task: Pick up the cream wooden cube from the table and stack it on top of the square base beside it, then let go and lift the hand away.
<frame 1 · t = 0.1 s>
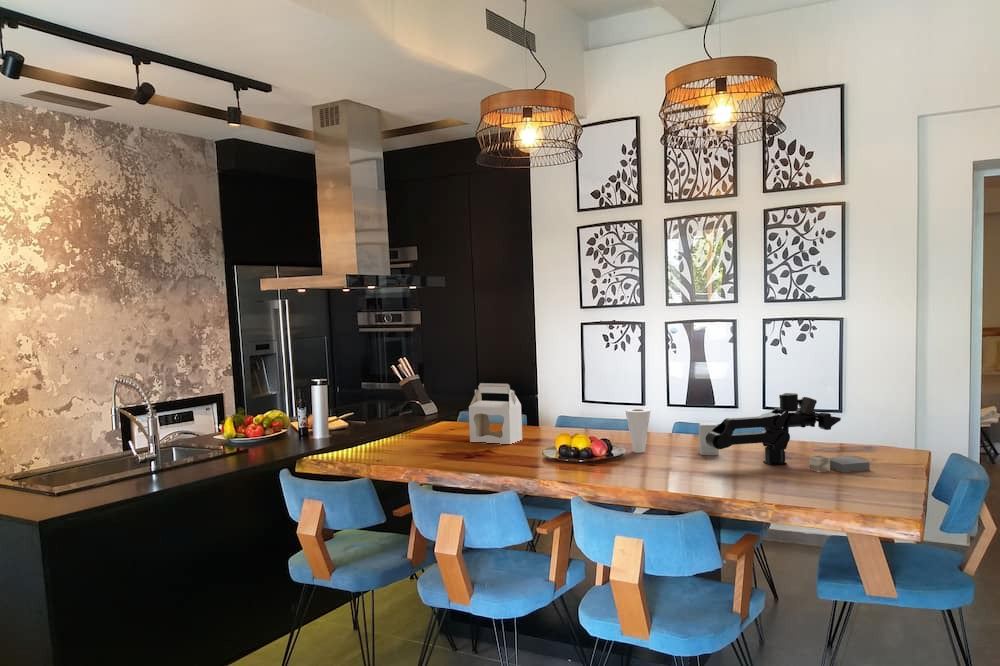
hand: (832, 417, 278), 17 cm above the table, tool horizontal, fingers open, 9 cm apart
base: (846, 468, 263), on the table
cube: (819, 470, 261), on the table
cup: (639, 452, 304), on the table
gable box: (496, 441, 339), on the table
supplement box: (709, 453, 296), on the table
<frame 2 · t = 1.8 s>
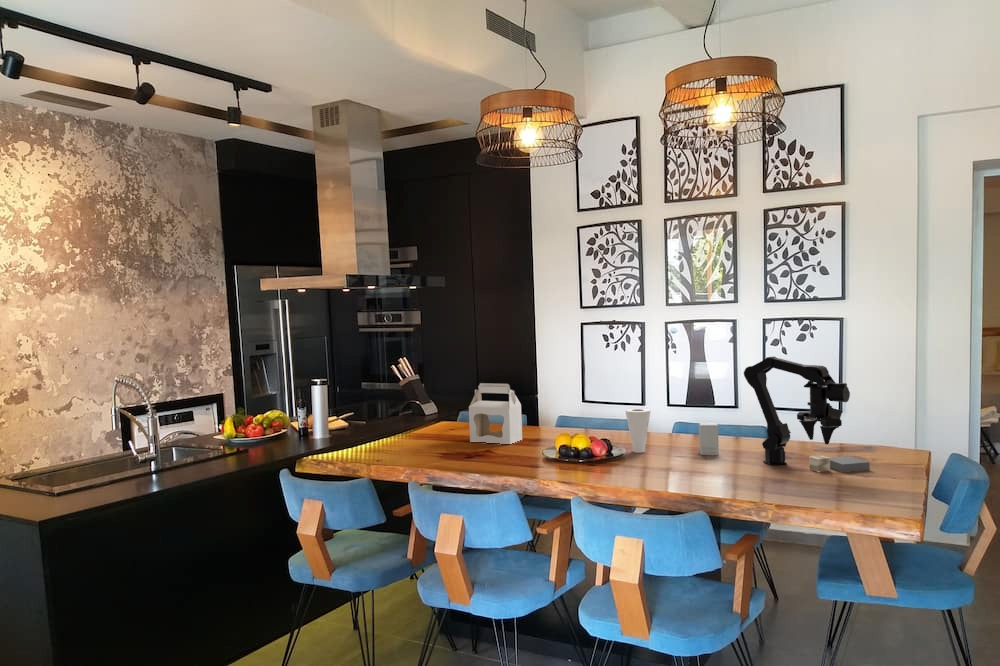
hand: (819, 441, 261), 11 cm above the table, tool pointing down, fingers open, 9 cm apart
nothing on the table moved.
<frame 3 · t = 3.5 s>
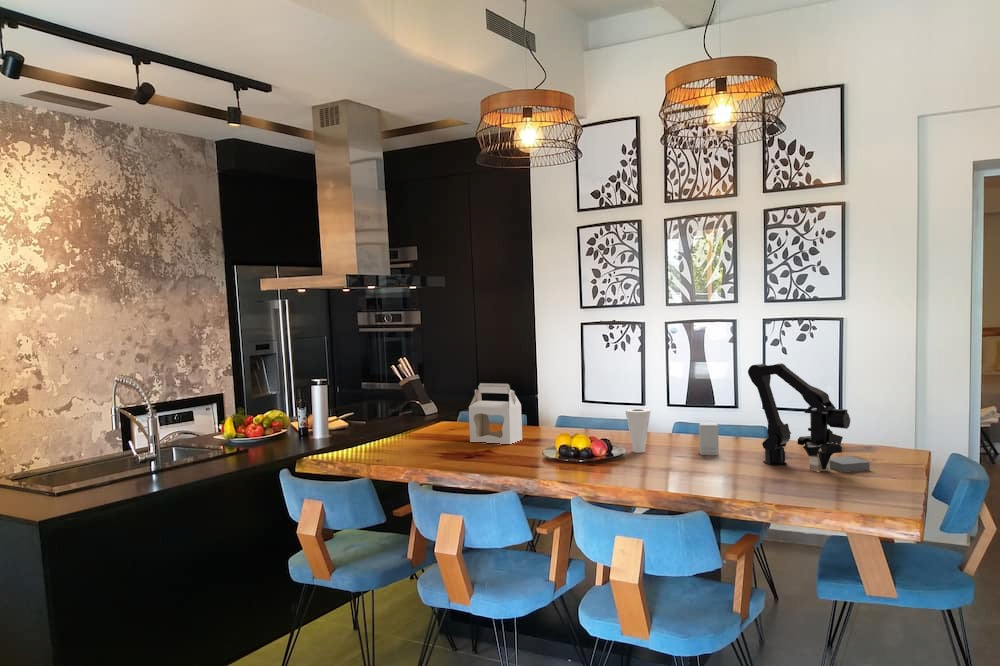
hand: (819, 467, 261), 1 cm above the table, tool pointing down, fingers closed on cube, 5 cm apart
cube: (819, 470, 261), on the table, touching gripper
everything else where it was.
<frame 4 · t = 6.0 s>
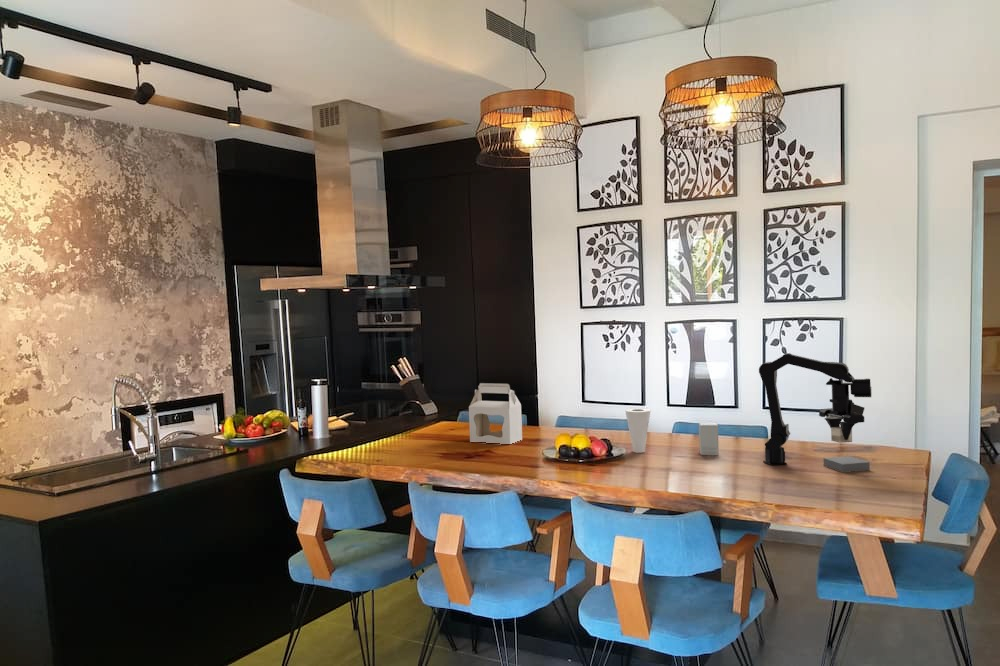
hand: (841, 438, 262), 11 cm above the table, tool pointing down, fingers closed on cube, 5 cm apart
cube: (841, 441, 262), point 10 cm above the table, touching gripper
everything else where it was.
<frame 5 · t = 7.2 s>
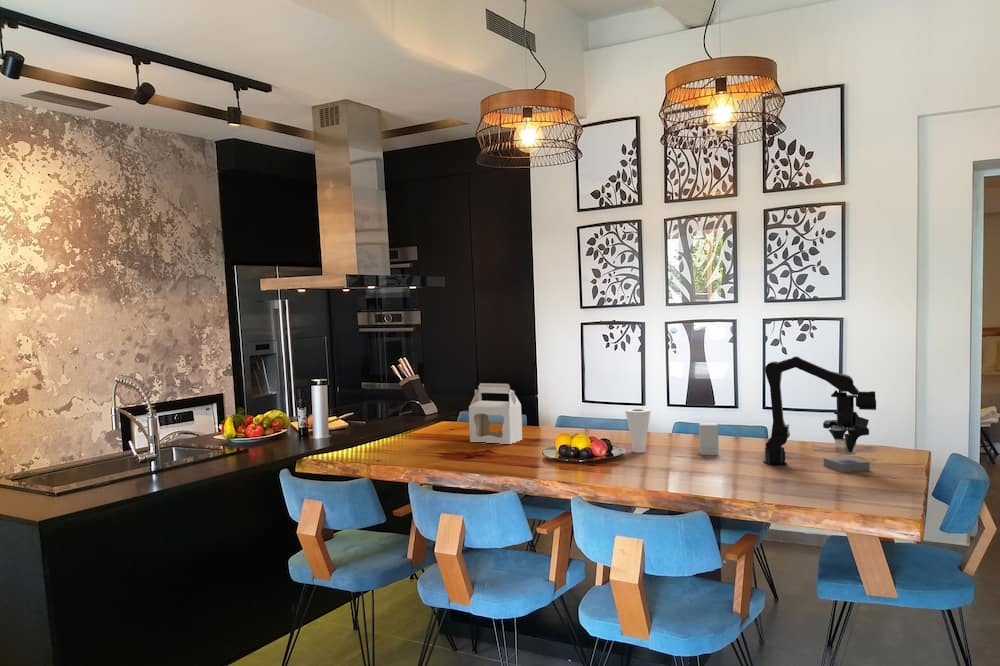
hand: (845, 450, 263), 7 cm above the table, tool pointing down, fingers closed on cube, 5 cm apart
cube: (845, 453, 263), point 6 cm above the table, touching gripper
everything else where it was.
when the fingers open (5 cm above the table, at t = 8.3 s): cube drops 1 cm, resting on base.
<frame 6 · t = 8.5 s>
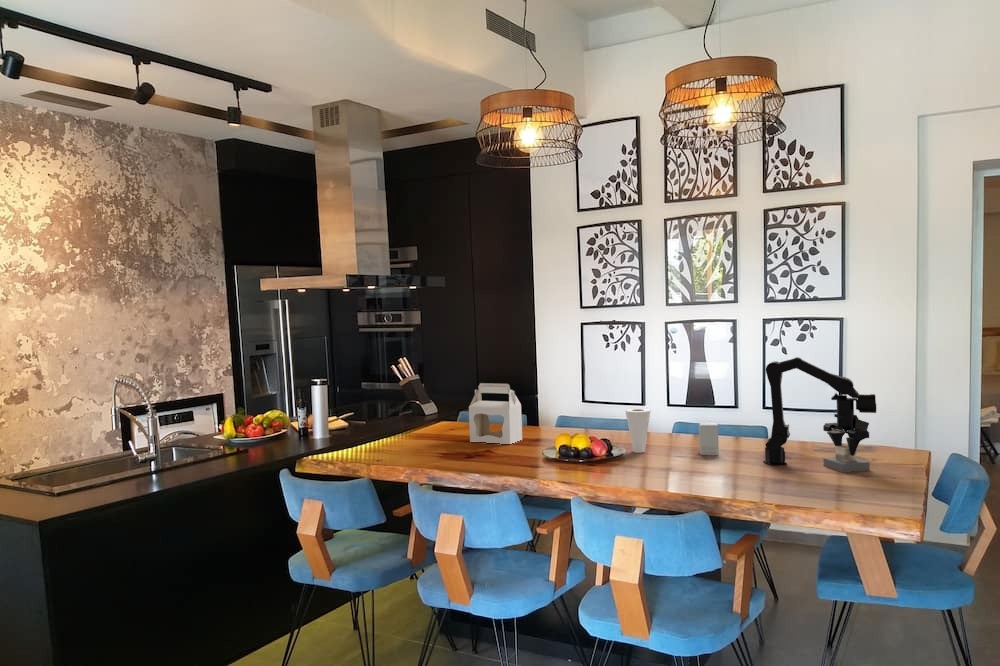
hand: (845, 453, 263), 5 cm above the table, tool pointing down, fingers open, 7 cm apart
cube: (846, 460, 263), point 3 cm above the table, touching base
everything else where it was.
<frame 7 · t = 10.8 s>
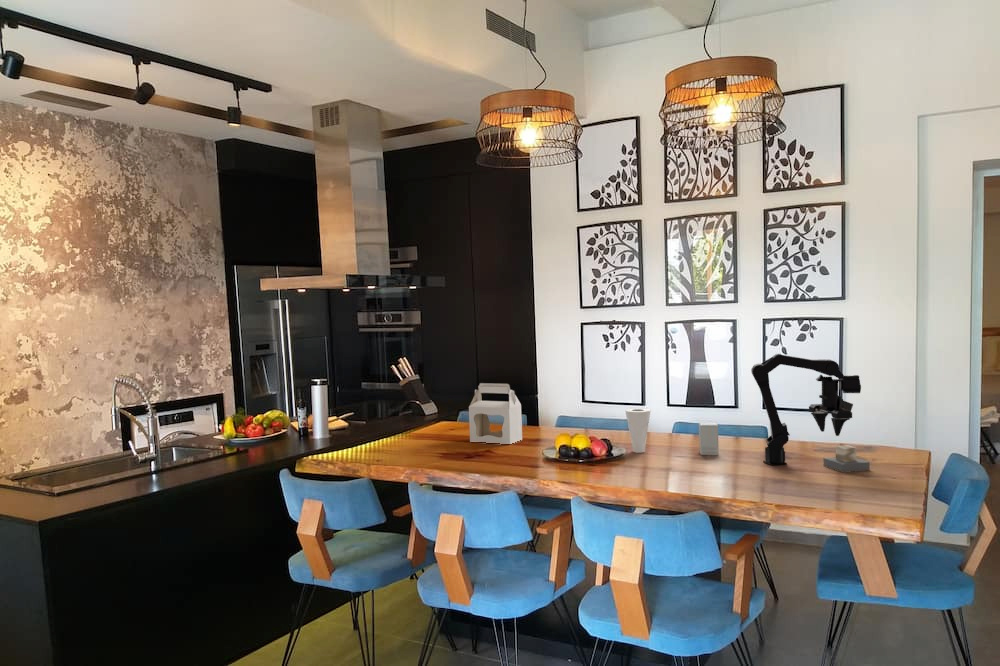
hand: (829, 433, 268), 12 cm above the table, tool pointing down, fingers open, 9 cm apart
nothing on the table moved.
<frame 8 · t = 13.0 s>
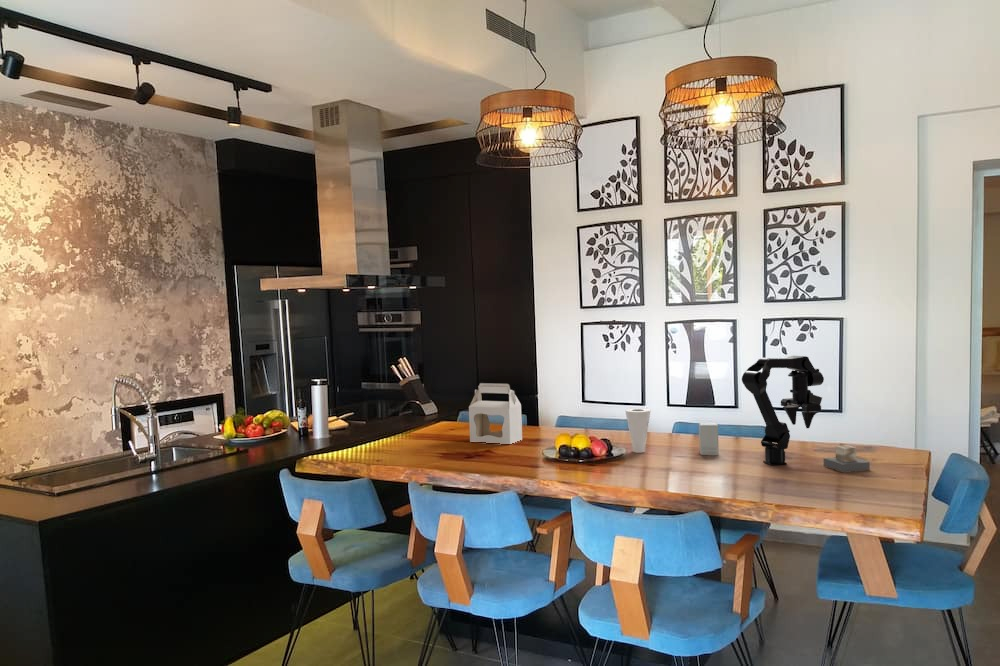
hand: (800, 426, 280), 13 cm above the table, tool pointing down, fingers open, 9 cm apart
nothing on the table moved.
at the end: cube inside the target area on the base (0.0 cm from its centre), point 3.0 cm above the base's base; cube tilted 0°; the gripper is holding nothing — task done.
